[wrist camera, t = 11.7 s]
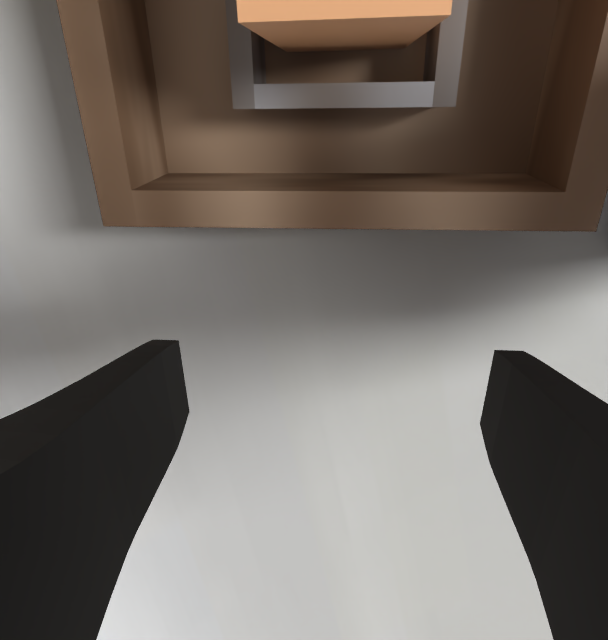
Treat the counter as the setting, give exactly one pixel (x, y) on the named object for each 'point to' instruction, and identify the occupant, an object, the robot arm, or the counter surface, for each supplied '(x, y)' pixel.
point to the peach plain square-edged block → (341, 22)
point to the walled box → (344, 119)
